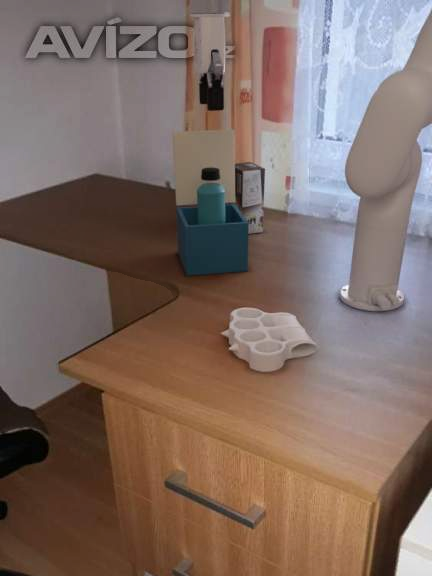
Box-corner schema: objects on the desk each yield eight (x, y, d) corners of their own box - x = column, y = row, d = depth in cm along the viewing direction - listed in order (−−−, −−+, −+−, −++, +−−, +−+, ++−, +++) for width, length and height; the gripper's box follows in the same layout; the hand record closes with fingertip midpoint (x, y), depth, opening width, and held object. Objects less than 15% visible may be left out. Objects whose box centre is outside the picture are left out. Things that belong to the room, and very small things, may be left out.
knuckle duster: (322, 366, 100) (236, 376, 98) (288, 319, 115) (212, 326, 112) (324, 348, 98) (236, 358, 96) (289, 302, 113) (212, 310, 111)
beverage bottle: (223, 263, 137) (223, 172, 127) (194, 261, 138) (192, 171, 128) (228, 253, 143) (229, 165, 132) (201, 252, 144) (199, 164, 133)
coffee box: (264, 232, 159) (266, 168, 150) (241, 235, 157) (242, 170, 148) (249, 222, 166) (250, 161, 157) (227, 225, 164) (228, 163, 155)
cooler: (247, 271, 136) (248, 222, 130) (186, 275, 134) (185, 226, 128) (234, 248, 148) (234, 204, 142) (178, 252, 146) (176, 207, 140)
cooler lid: (234, 129, 135) (229, 128, 140) (172, 132, 133) (170, 130, 138) (235, 202, 142) (230, 198, 147) (176, 205, 140) (173, 201, 145)
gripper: (183, 8, 121) (187, 102, 130) (197, 8, 107) (199, 114, 116) (220, 7, 122) (221, 101, 131) (238, 7, 108) (238, 112, 117)
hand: (211, 107), depth 123 cm, fingers open, 9 cm apart
